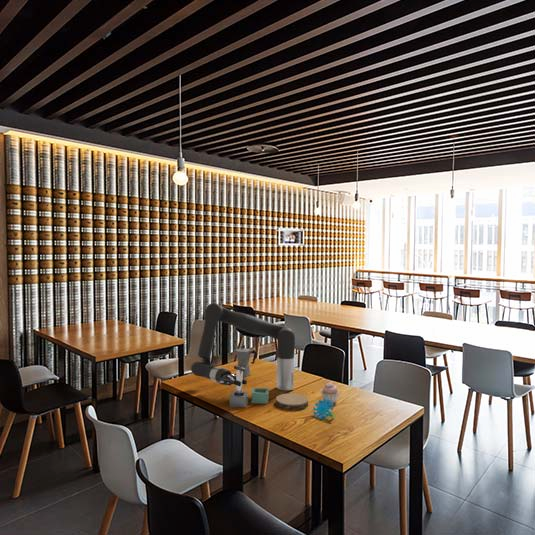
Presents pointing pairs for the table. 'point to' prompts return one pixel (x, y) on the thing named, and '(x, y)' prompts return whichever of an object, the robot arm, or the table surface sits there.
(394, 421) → the table surface
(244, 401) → the chuck block
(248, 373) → the coffeepot
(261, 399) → the key holder
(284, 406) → the wood slice
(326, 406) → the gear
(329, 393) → the cupcake
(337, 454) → the table surface
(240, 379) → the chuck key
